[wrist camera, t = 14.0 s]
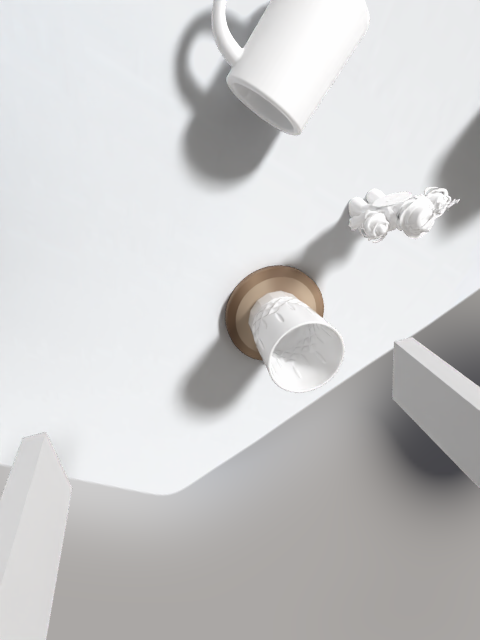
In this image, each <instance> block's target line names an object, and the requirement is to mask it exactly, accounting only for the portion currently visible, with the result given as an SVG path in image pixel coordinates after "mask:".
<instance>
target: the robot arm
mask: <svg viewBox="0 0 480 640" xmlns="http://www.w3.org/2000/svg"><path fill="white" fill-rule="evenodd" d="M392 398H393V400H394V401H395V402H396V403H397V404H398V405H399V406H400V407H401V408H402V409H403V410H404V411H405V412H406V413H407V414H408V415H409V416H410V417H411V418H412V419H413V420H414V421H415V422H416V423H417V424H418V425H419V426H420V427H421V428H422V429H423V431H424V432H425V433H427V435H428V436H429V437H430V438H431V439H432V440H433V441H434V442H435V443H436V444H437V445H438V446H439V447H440V448H441V449H442V450H443V451H444V452H445V453H446V454H447V455H448V456H449V457H450V458H451V459H452V460H453V461H454V462H455V464H457V466H458V467H459V468H461V470H462V471H463V472H464V473H465V474H466V475H467V476H468V477H469V478H470V479H471V480H472V481H473V482H474V483H475V484H476V485H477V486H478V487H479V488H480V387H479V386H477V385H476V384H475V383H473V382H472V381H470V380H469V379H468V378H466V377H465V376H464V375H462V374H461V373H460V372H458V371H457V370H456V369H454V368H453V367H452V366H450V365H449V364H447V363H446V362H445V361H443V360H442V359H441V358H439V357H438V356H437V355H435V354H434V353H432V352H431V351H430V350H429V349H427V348H426V347H424V346H423V345H422V344H420V343H419V342H418V341H416V340H415V339H414V338H412V337H411V338H407V339H403V340H399V341H395V342H394V360H393V389H392ZM71 493H72V487H71V484H70V482H69V480H68V478H67V476H66V473H65V471H64V469H63V467H62V465H61V463H60V461H59V458H58V456H57V454H56V452H55V450H54V448H53V446H52V444H51V441H50V439H49V437H48V435H47V433H46V432H44V433H40V434H36V435H32V436H28V437H24V438H23V439H22V441H21V444H20V447H19V449H18V452H17V455H16V458H15V460H14V463H13V466H12V469H11V472H10V474H9V477H8V480H7V482H6V485H5V488H4V491H3V493H2V496H1V499H0V640H46V636H47V630H48V625H49V619H50V613H51V608H52V602H53V596H54V591H55V585H56V578H57V573H58V568H59V562H60V556H61V550H62V545H63V538H64V533H65V527H66V522H67V516H68V510H69V504H70V499H71Z"/></svg>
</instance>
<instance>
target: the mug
mask: <svg viewBox="0 0 480 640" xmlns="http://www.w3.org/2000/svg"><path fill="white" fill-rule="evenodd" d="M226 2H227V0H214V1H213V7H212V31H213V36H214V39H215V42H216V45H217V47H218V49H219V51H220V53H221V54H222V56H223V57H224V58H225V60H226V61H227V62H228V63H229V64H230V66H231V70H230V72H229V74H228V76H227V78H226V81H227V84H228V86H229V88H230V89H231V91H232V92H233V93H234V94H235V96H236V97H237V98H238V99H239V100H240V101H241V102H242V103H243V104H244V105H246V106H247V107H248V108H249V109H250V110H251V111H253V112H254V113H255V114H256V115H258V116H259V117H260V118H262V119H263V120H264V121H266V122H267V123H269V124H270V125H272V126H274V127H275V128H277V129H279V130H281V131H283V132H285V133H287V134H290V135H294V136H298V135H300V134H301V133H302V131H303V130H304V128H305V127H306V125H307V124H308V122H309V120H310V119H311V117H312V116H313V114H314V113H315V111H316V110H317V108H318V107H319V105H320V103H321V102H322V100H323V99H324V97H325V96H326V94H327V93H328V91H329V89H330V88H331V86H332V85H333V83H334V82H335V80H336V79H337V77H338V76H339V74H340V72H341V71H342V69H343V68H344V66H345V65H346V63H347V62H348V60H349V59H350V57H351V55H352V54H353V52H354V51H355V49H356V48H357V46H358V45H359V43H360V41H361V40H362V38H363V37H364V35H365V34H366V32H367V30H368V28H369V24H370V17H369V12H368V8H367V6H366V3H365V1H364V0H271V1H270V3H269V5H268V7H267V8H266V10H265V12H264V13H263V15H262V17H261V19H260V20H259V22H258V24H257V26H256V27H255V29H254V31H253V32H252V34H251V36H250V38H249V39H248V41H247V43H246V44H245V46H244V48H241V47H240V46H239V45H238V44H237V43H236V41H235V40H234V38H233V37H232V35H231V33H230V31H229V29H228V26H227V23H226V18H225V7H226Z"/></svg>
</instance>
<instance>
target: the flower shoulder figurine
mask: <svg viewBox="0 0 480 640" xmlns="http://www.w3.org/2000/svg"><path fill="white" fill-rule="evenodd" d="M431 188H438V190H433V191H431V192H429V193H428V194H427V195H426V191H427V190H429V189H431ZM424 194H425V197H424V196H423V195H422V194H419V195H415V196H413V197H411V195H412V193H411V192H398V193H393V194H390V195H387V196H385V195H384V194H383V193H382V192H381V191H380V190H378V189H371V190H370V191H368V193H367V195H366V200H367V201H368V204H367V203H366V202H365V201H364V200H363V199H361V198H359V197H354V198H352V199H351V200H350V201H349V205H348V207H349V214H350V216H351V219H349V222H350V223H349V227H352V228H351V230H352V231H354V230H356V229H358V228H359V231H360V233H361V235H362V236H364V235H363V233H362V231H361V228H362V229H363V230H364V232H365V234H366V236H367V237H366V238H368V241H369V240H371V239H378V238H380V237H381V238H380V239H379V240H377V241H373V243H377V242H380V241H381V240H383V239H384V238H385V236H386V235H387V232H389V231H392V230H395V229H396V228H397V229H398V230H400V231H402V230H403V231H404V233H405V234H406V235H407V236H408V237H410V238H412V239H417V238H420V237H422V236H424V235H425V234H426V233H427V232H429V230H430V229H431V228H432V226H433V224H434V221H435V218H438V217H440V216H441V215H442V214H443V212H444V211H445V210H446V209H447V208H449V207H451V206H452V205H454V204H457V203H458V202H459V200H460V199H458V200H456V199H454V200H453V201H452V202H451V197H450V196H448V192H447V189H444V188H441V189H439V187H428V188H426V189H425V191H424ZM447 200H448V202H447ZM455 200H456V201H455ZM450 202H451V203H450ZM455 202H456V203H455ZM436 214H440V215H438V216H436ZM364 237H365V236H364Z"/></svg>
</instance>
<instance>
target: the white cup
mask: <svg viewBox="0 0 480 640" xmlns="http://www.w3.org/2000/svg"><path fill="white" fill-rule="evenodd" d="M248 324H249V326H250V329H251V332H252V335H253V337H254V341H255V343H256V346H257V348H258V351H259V353H260V355H261V357H262V359H263V361H264V363H265V365H266V368H267V370H268V372H269V374H270V376H271V378H272V380H273V381H274V383H275V384H276V385H277V386H279V387H280V388H282V389H284V390H286V391H289V392H295V393H302V392H308V391H312V390H315V389H317V388H319V387H321V386H323V385H324V384H326V383H327V382H328V381H329V380H330V379H331V378H332V377H333V376H334V375H335V374H336V373H337V371H338V370H339V368H340V366H341V364H342V361H343V358H344V352H345V347H344V342H343V339H342V337H341V335H340V333H339V332H338V331H337V330H336V329H335V328H334V327H333V326H332V325H330V324H329V323H328V322H327V321H326V320H324V319H323V318H322V317H321V316H320V315H319V314H317V313H316V312H315V311H314V310H313V309H311V308H310V307H309V306H307V305H306V304H305V303H303V302H301V301H300V300H299V299H297V298H296V297H295V296H294V295H293V294H291V293H287V292H284V291H276V292H270V293H267V294H266V295H264V296H263V297H261V298H260V299H258V300H257V301H256V303H255V304H254V306H253V307H252V309H251V310H250V315H249V321H248Z"/></svg>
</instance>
